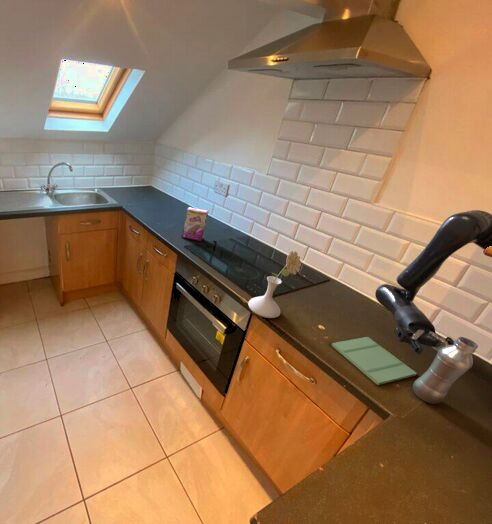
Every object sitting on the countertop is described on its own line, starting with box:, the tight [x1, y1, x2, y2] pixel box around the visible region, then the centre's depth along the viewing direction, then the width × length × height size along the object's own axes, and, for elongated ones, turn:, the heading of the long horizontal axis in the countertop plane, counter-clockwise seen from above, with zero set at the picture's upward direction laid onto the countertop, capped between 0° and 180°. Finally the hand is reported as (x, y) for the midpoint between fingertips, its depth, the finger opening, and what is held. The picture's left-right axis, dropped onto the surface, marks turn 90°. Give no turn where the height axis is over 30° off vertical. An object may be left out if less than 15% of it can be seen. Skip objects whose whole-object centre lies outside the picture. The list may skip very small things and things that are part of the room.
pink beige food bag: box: [181, 206, 210, 242], centre depth 162 cm, size 11×5×16 cm, turn 74°
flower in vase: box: [247, 250, 302, 319], centre depth 105 cm, size 13×11×25 cm
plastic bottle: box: [412, 336, 479, 405], centre depth 78 cm, size 6×7×20 cm
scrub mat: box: [331, 336, 418, 386], centre depth 93 cm, size 16×16×1 cm
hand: (438, 357), depth 81 cm, fingers open, 8 cm apart
